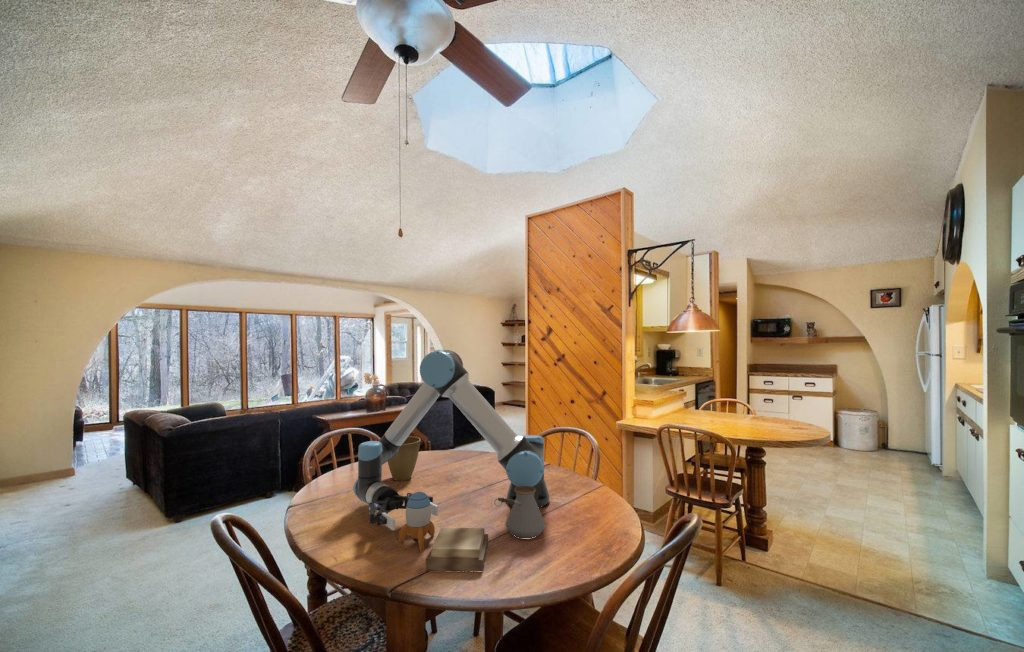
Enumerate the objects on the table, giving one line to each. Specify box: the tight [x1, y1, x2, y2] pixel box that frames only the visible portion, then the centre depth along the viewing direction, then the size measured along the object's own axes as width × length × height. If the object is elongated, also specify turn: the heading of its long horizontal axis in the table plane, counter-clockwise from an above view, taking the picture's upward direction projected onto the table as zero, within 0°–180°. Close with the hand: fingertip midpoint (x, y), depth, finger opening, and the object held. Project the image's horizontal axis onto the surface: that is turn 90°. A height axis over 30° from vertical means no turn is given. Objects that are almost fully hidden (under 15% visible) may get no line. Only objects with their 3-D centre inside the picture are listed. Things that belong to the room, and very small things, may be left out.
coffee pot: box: [493, 486, 546, 538], centre depth 119 cm, size 21×12×15 cm, turn 150°
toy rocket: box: [398, 491, 436, 553], centre depth 117 cm, size 10×11×15 cm
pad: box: [425, 527, 489, 573], centre depth 109 cm, size 14×14×5 cm
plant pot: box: [387, 435, 421, 481], centre depth 176 cm, size 15×15×16 cm
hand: (416, 517), depth 117 cm, fingers open, 13 cm apart
